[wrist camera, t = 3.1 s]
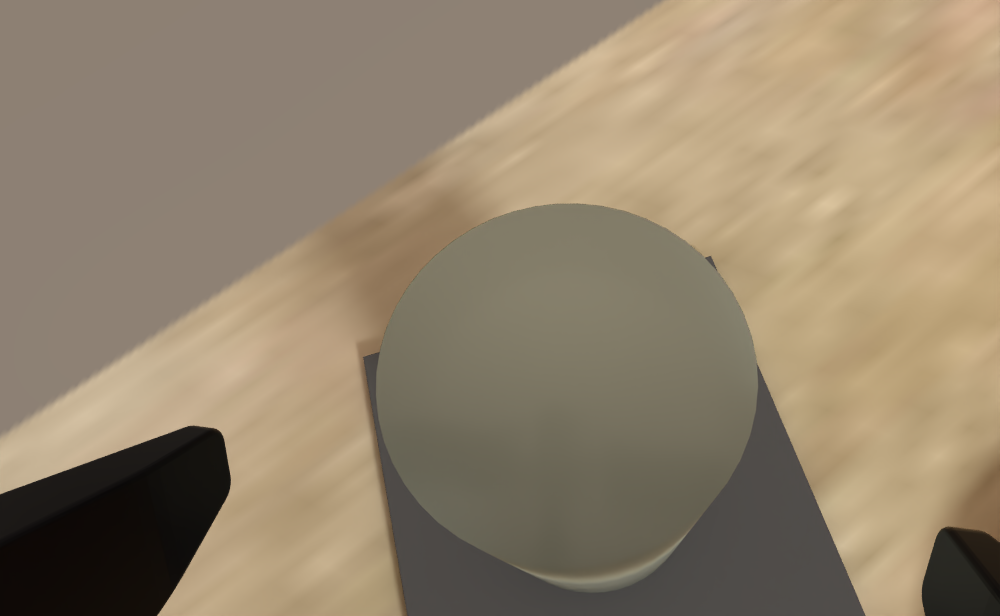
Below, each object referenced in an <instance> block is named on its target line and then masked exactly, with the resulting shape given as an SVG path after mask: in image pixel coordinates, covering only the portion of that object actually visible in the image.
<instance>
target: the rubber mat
mask: <svg viewBox="0 0 1000 616" xmlns="http://www.w3.org/2000/svg"><path fill="white" fill-rule="evenodd" d="M705 259H706V260H707V261H708V262H709V263H710V264H711V265H712V266H713V267H714V268H715V269H716V267H715V265H714V262H713V260H712V258H711V256H709V257H706V258H705ZM716 271H717V269H716ZM717 272H718V271H717ZM379 354H380V352H378V353H375V354H371V355H368V356H365V357H363V358H364V364H365V370H366V376H367V382H368V388H369V393H370V399H371V405H372V411H373V417H374V423H375V429H376V434H377V440H378V446H379V452H380V458H381V464H382V469H383V475H384V481H385V487H386V493H387V499H388V504H389V510H390V516H391V522H392V528H393V534H394V540H395V545H396V551H397V557H398V563H399V569H400V575H401V580H402V586H403V592H404V598H405V604H406V610H407V615H408V616H865V613H864V611H863V609H862V606H861V604H860V602H859V600H858V597H857V595H856V593H855V590H854V588H853V586H852V583H851V581H850V579H849V576H848V574H847V572H846V569H845V567H844V565H843V562H842V560H841V558H840V555H839V553H838V551H837V548H836V546H835V544H834V541H833V539H832V537H831V534H830V532H829V530H828V527H827V525H826V523H825V520H824V518H823V516H822V513H821V511H820V509H819V506H818V504H817V502H816V499H815V497H814V495H813V492H812V490H811V488H810V486H809V483H808V481H807V479H806V476H805V474H804V472H803V469H802V467H801V465H800V462H799V460H798V458H797V455H796V453H795V451H794V448H793V446H792V444H791V441H790V439H789V437H788V434H787V432H786V430H785V427H784V425H783V423H782V420H781V418H780V416H779V413H778V411H777V409H776V406H775V404H774V402H773V399H772V397H771V395H770V392H769V390H768V388H767V385H766V383H765V381H764V378H763V376H762V374H761V372H760V369H759V367H758V365H757V375H758V392H757V404H756V413H755V417H754V421H753V425H752V430H751V434H750V437H749V440H748V442H747V445H746V447H745V450H744V452H743V455H742V457H741V460H740V462H739V463H738V465H737V467H736V469H735V470H734V472H733V474H732V476H731V477H730V479H729V481H728V483H727V484H726V485H725V487H724V488H723V489H722V490H721V492H720V493H719V494H718V495H717V497H716V498H715V499H714V501H713V502H712V503H711V504H710V506H709V507H708V508H707V509H706V511H705V512H704V513H703V515H702V516H701V517H700V518H699V520H698V521H697V522H696V523H695V525H694V526H693V527H692V528H691V530H690V531H689V532H688V533H687V535H686V536H685V537H684V539H683V540H682V541H681V542H680V544H679V545H678V546H677V547H676V549H675V550H674V551H673V552H672V554H671V555H670V556H669V557H668V559H667V560H666V561H665V562H664V563H663V564H662V565H661V566H660V567H659V568H658V569H657V570H656V571H654V572H653V573H651V574H650V575H649V576H647V577H646V578H645V579H643V580H641V581H639V582H637V583H635V584H633V585H631V586H628V587H625V588H622V589H619V590H615V591H610V592H604V593H582V592H574V591H570V590H566V589H562V588H559V587H556V586H554V585H551V584H549V583H547V582H545V581H543V580H541V579H539V578H537V577H535V576H533V575H531V574H529V573H526V572H524V571H522V570H520V569H518V568H516V567H514V566H512V565H510V564H508V563H506V562H504V561H502V560H500V559H498V558H496V557H494V556H492V555H490V554H488V553H486V552H484V551H482V550H480V549H478V548H476V547H475V546H473V545H471V544H469V543H467V542H465V541H464V540H462V539H460V538H458V537H457V536H456V535H454V534H453V533H452V532H450V531H449V530H448V529H446V528H445V527H443V526H442V525H441V524H439V523H438V522H437V521H436V520H435V519H434V518H433V517H432V516H431V515H430V514H429V513H428V512H427V511H426V510H425V509H424V508H423V507H422V506H421V505H420V504H419V503H418V501H417V500H416V499H415V498H414V496H413V495H412V494H411V492H410V491H409V490H408V488H407V487H406V486H405V484H404V483H403V481H402V479H401V477H400V475H399V474H398V472H397V470H396V468H395V467H394V465H393V463H392V460H391V458H390V455H389V453H388V450H387V448H386V445H385V443H384V439H383V435H382V431H381V427H380V423H379V419H378V410H377V401H376V373H377V366H378V360H379Z"/></svg>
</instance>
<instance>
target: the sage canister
mask: <svg viewBox="0 0 1000 616" xmlns="http://www.w3.org/2000/svg"><path fill="white" fill-rule="evenodd" d="M757 392H758V375H757V360H756V355H755V350H754V345H753V340H752V336H751V333H750V330H749V328H748V325H747V322H746V319H745V316H744V314H743V312H742V310H741V308H740V306H739V304H738V302H737V300H736V298H735V296H734V294H733V292H732V291H731V290H730V288H729V287H728V285H727V284H726V282H725V281H724V280H723V278H722V277H721V275H720V274H719V273H718V272H717V271H716V269H715V268H714V267H713V266H712V265H711V264H710V263H709V262H708V261H707V260H706V259H705V257H704V256H703V255H701V254H700V253H699V252H698V251H697V250H695V249H694V248H693V247H692V246H691V245H689V244H688V243H687V242H686V241H685V240H683V239H681V238H680V237H678V236H677V235H675V234H674V233H672V232H671V231H669V230H668V229H666V228H664V227H662V226H660V225H658V224H656V223H654V222H652V221H650V220H648V219H646V218H643V217H640V216H637V215H634V214H631V213H628V212H625V211H622V210H617V209H613V208H608V207H604V206H597V205H587V204H552V205H543V206H535V207H531V208H526V209H522V210H518V211H514V212H511V213H508V214H505V215H502V216H499V217H497V218H494V219H491V220H489V221H487V222H485V223H483V224H481V225H479V226H477V227H475V228H473V229H471V230H469V231H468V232H466V233H465V234H463V235H462V236H460V237H458V238H457V239H455V240H454V241H452V242H451V243H450V244H449V245H447V246H446V247H445V248H444V249H443V250H441V251H440V252H439V253H438V254H436V255H435V256H434V257H433V258H432V259H431V260H430V261H429V262H428V264H427V265H426V266H425V267H424V268H423V269H422V270H421V271H420V272H419V273H418V275H417V276H416V277H415V278H414V280H413V281H412V282H411V284H410V285H409V286H408V288H407V289H406V291H405V292H404V294H403V296H402V297H401V299H400V301H399V303H398V304H397V306H396V308H395V310H394V312H393V314H392V317H391V319H390V321H389V324H388V326H387V328H386V332H385V335H384V338H383V342H382V345H381V349H380V354H379V360H378V366H377V373H376V401H377V410H378V419H379V423H380V427H381V431H382V435H383V439H384V443H385V445H386V448H387V450H388V453H389V455H390V458H391V460H392V463H393V465H394V467H395V468H396V470H397V472H398V474H399V475H400V477H401V479H402V481H403V483H404V484H405V486H406V487H407V488H408V490H409V491H410V492H411V494H412V495H413V496H414V498H415V499H416V500H417V501H418V503H419V504H420V505H421V506H422V507H423V508H424V509H425V510H426V511H427V512H428V513H429V514H430V515H431V516H432V517H433V518H434V519H435V520H436V521H437V522H438V523H439V524H441V525H442V526H443V527H445V528H446V529H448V530H449V531H450V532H452V533H453V534H454V535H456V536H457V537H458V538H460V539H462V540H464V541H465V542H467V543H469V544H471V545H473V546H475V547H476V548H478V549H480V550H482V551H484V552H486V553H488V554H490V555H492V556H494V557H496V558H498V559H500V560H502V561H504V562H506V563H508V564H510V565H512V566H514V567H516V568H518V569H520V570H522V571H524V572H526V573H529V574H531V575H533V576H535V577H537V578H539V579H541V580H543V581H545V582H547V583H549V584H551V585H554V586H556V587H559V588H562V589H566V590H570V591H574V592H582V593H604V592H610V591H615V590H619V589H622V588H625V587H628V586H631V585H633V584H635V583H637V582H639V581H641V580H643V579H645V578H646V577H647V576H649V575H650V574H651V573H653V572H654V571H656V570H657V569H658V568H659V567H660V566H661V565H662V564H663V563H664V562H665V561H666V560H667V559H668V557H669V556H670V555H671V554H672V552H673V551H674V550H675V549H676V547H677V546H678V545H679V544H680V542H681V541H682V540H683V539H684V537H685V536H686V535H687V533H688V532H689V531H690V530H691V528H692V527H693V526H694V525H695V523H696V522H697V521H698V520H699V518H700V517H701V516H702V515H703V513H704V512H705V511H706V509H707V508H708V507H709V506H710V504H711V503H712V502H713V501H714V499H715V498H716V497H717V495H718V494H719V493H720V492H721V490H722V489H723V488H724V487H725V485H726V484H727V483H728V481H729V479H730V477H731V476H732V474H733V472H734V470H735V469H736V467H737V465H738V463H739V462H740V460H741V457H742V455H743V452H744V450H745V447H746V445H747V442H748V440H749V437H750V434H751V430H752V425H753V421H754V417H755V413H756V404H757Z"/></svg>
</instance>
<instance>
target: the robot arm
mask: <svg viewBox="0 0 1000 616" xmlns="http://www.w3.org/2000/svg"><path fill="white" fill-rule="evenodd" d="M230 485H231V476H230V471H229V465H228V459H227V453H226V448H225V442H224V438H223V435H222V434H221V432H220V431H219V430H217V429H215V428H207V427H200V426H188V427H185V428H182V429H179V430H176V431H174V432H171V433H168V434H165V435H163V436H160V437H157V438H154V439H152V440H149V441H146V442H143V443H141V444H138V445H135V446H132V447H130V448H127V449H124V450H121V451H118V452H116V453H113V454H110V455H107V456H105V457H102V458H99V459H96V460H94V461H91V462H88V463H85V464H83V465H80V466H77V467H74V468H72V469H69V470H66V471H63V472H61V473H58V474H55V475H52V476H49V477H47V478H44V479H41V480H38V481H36V482H33V483H30V484H27V485H25V486H22V487H19V488H16V489H14V490H11V491H8V492H5V493H3V494H0V616H157V615H158V614H159V612H160V611H161V609H162V608H163V606H164V605H165V603H166V602H167V600H168V599H169V597H170V596H171V594H172V593H173V591H174V590H175V588H176V586H177V585H178V583H179V581H180V580H181V578H182V576H183V575H184V573H185V571H186V569H187V568H188V566H189V564H190V562H191V560H192V559H193V557H194V555H195V553H196V552H197V550H198V548H199V546H200V544H201V543H202V541H203V539H204V537H205V536H206V534H207V532H208V530H209V528H210V527H211V525H212V523H213V521H214V520H215V518H216V516H217V514H218V512H219V511H220V509H221V507H222V505H223V504H224V502H225V500H226V498H227V496H228V493H229V490H230ZM922 602H923V607H924V612H925V616H1000V542H999V541H997V540H996V539H994V538H993V537H992V536H990V535H989V534H987V533H985V532H983V531H979V530H971V529H963V528H956V527H945V528H943V529H941V530H940V532H939V533H938V535H937V537H936V540H935V543H934V547H933V550H932V553H931V557H930V560H929V563H928V567H927V570H926V574H925V577H924V580H923V585H922Z"/></svg>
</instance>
